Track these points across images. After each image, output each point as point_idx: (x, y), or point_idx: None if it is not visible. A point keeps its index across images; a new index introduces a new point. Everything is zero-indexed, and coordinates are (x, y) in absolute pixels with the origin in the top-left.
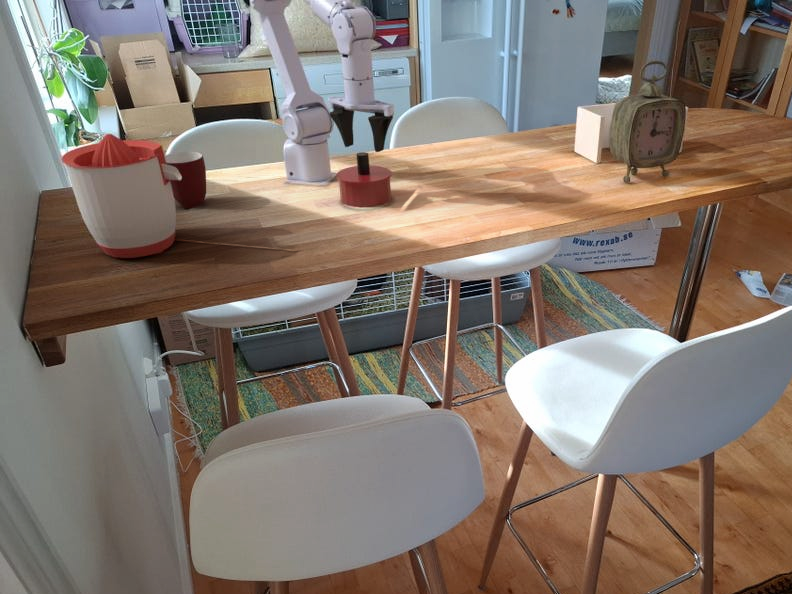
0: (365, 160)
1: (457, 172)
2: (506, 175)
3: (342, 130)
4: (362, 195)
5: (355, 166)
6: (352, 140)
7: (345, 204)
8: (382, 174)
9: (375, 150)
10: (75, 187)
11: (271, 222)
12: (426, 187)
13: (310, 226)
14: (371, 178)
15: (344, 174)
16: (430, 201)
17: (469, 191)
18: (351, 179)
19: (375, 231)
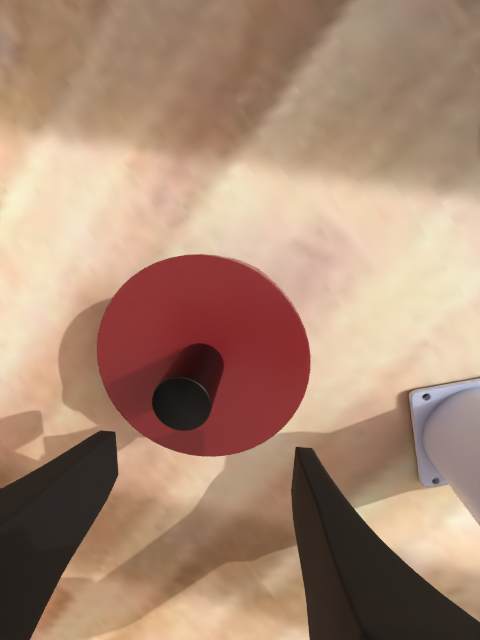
0: (162, 378)
1: (136, 594)
2: None
3: (321, 511)
4: None
5: (281, 422)
6: (293, 507)
7: (243, 262)
8: (132, 381)
9: (109, 434)
10: None
11: (398, 7)
12: (138, 483)
13: (245, 51)
14: (138, 324)
15: (263, 322)
16: (66, 400)
17: None
18: (199, 279)
19: (43, 125)
